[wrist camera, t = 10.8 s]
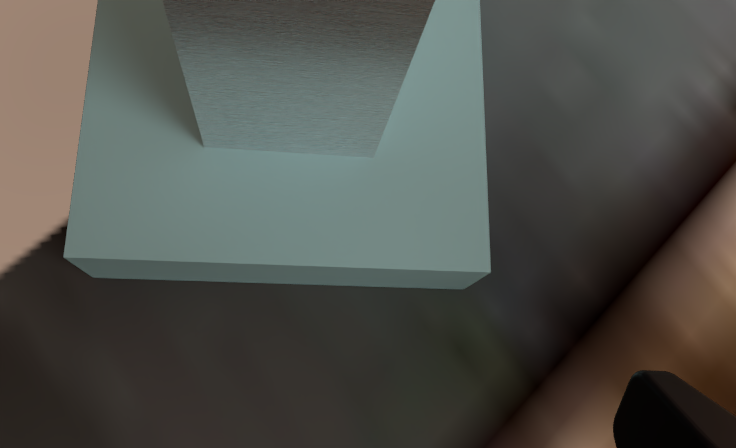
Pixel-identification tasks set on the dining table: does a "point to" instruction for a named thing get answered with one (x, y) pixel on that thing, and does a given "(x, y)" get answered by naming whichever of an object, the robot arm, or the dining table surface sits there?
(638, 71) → the dining table surface
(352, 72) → the housing
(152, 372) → the dining table surface
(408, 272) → the stand
